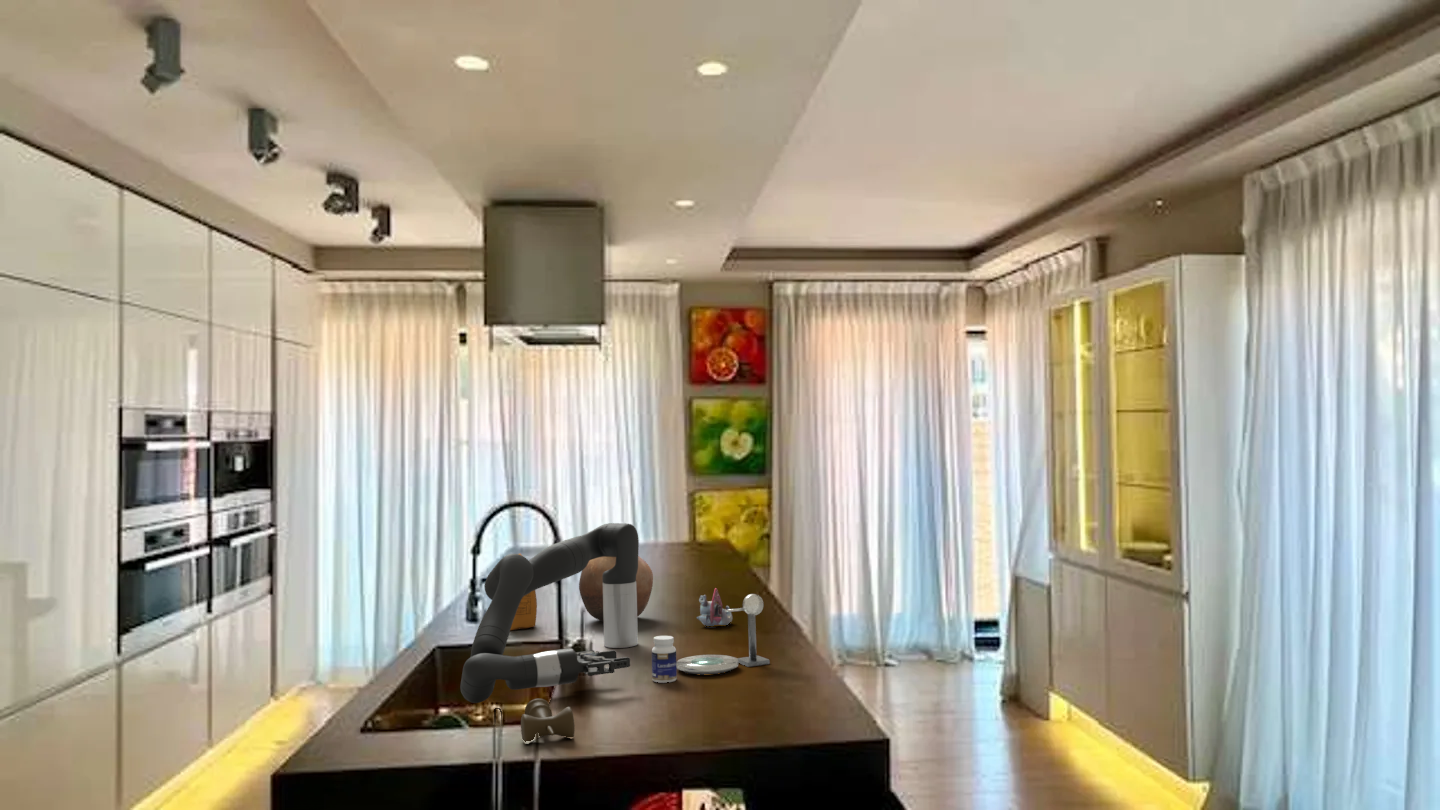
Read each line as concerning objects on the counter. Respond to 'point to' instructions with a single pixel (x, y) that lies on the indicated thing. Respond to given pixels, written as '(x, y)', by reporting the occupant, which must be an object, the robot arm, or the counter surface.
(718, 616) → the grey and red figurine
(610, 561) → the pottery
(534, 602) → the coffee package
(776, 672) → the counter surface
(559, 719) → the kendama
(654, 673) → the pill bottle
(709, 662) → the dish
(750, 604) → the dial stand
